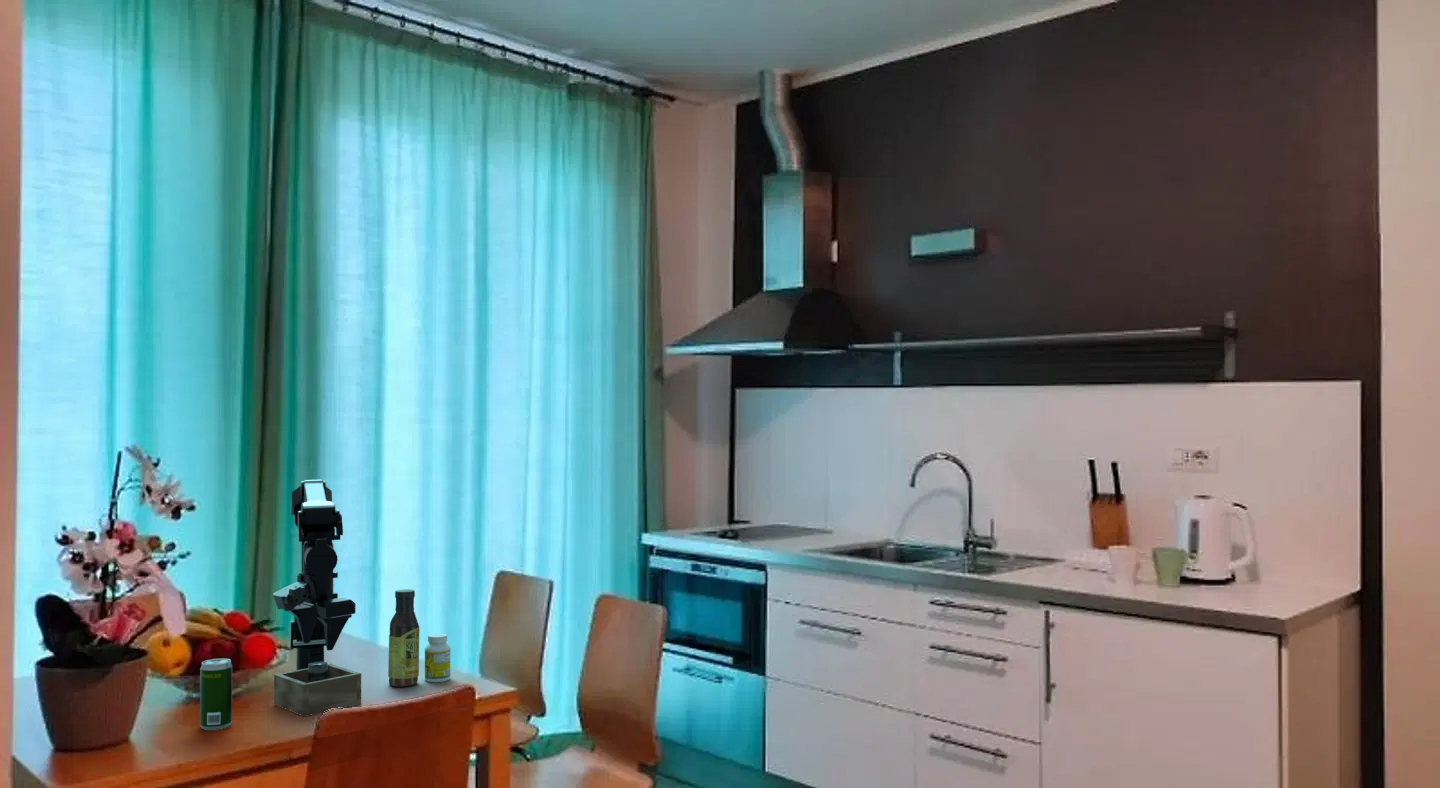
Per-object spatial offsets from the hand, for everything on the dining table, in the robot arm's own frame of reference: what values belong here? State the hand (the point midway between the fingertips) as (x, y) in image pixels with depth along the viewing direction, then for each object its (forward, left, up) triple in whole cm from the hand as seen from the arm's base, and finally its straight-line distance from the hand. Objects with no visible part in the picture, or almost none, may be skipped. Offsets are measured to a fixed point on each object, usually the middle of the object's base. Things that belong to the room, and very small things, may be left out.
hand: (318, 646), depth 218 cm
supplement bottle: (+1, +27, -12) cm, 29 cm away
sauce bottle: (-1, +20, -12) cm, 23 cm away
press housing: (0, 0, -11) cm, 11 cm away
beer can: (0, -20, -12) cm, 23 cm away
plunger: (0, 0, -10) cm, 10 cm away
